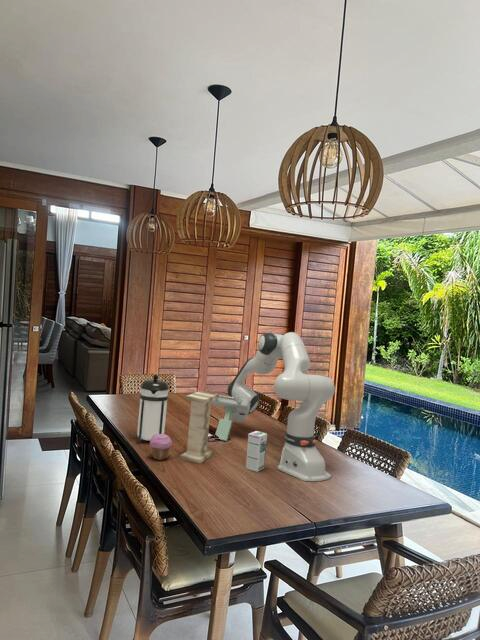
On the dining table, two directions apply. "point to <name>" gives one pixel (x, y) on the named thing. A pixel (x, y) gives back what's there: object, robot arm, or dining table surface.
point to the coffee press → (152, 408)
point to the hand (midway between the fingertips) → (225, 396)
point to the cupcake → (160, 446)
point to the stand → (198, 427)
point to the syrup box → (256, 451)
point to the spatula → (225, 425)
